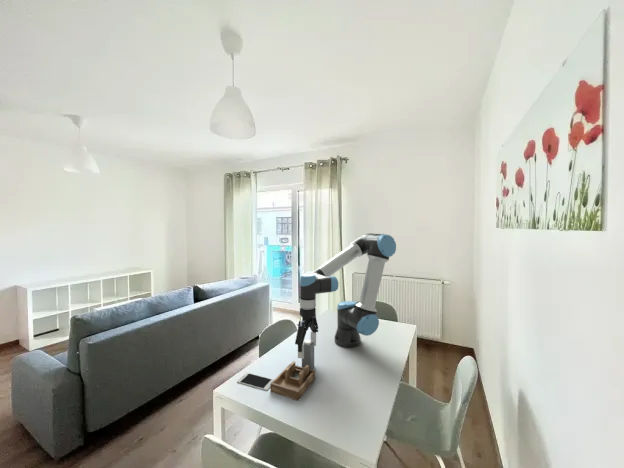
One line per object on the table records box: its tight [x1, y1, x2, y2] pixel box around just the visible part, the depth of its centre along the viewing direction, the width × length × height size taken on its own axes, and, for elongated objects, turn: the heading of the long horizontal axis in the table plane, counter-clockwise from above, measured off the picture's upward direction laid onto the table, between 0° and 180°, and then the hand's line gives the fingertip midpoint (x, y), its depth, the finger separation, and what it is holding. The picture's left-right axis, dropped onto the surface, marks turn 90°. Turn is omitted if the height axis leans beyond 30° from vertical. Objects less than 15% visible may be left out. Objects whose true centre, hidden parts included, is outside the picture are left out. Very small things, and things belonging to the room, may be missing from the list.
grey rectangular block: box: [301, 339, 315, 370], centre depth 123 cm, size 4×4×13 cm
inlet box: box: [270, 360, 316, 401], centre depth 110 cm, size 16×13×6 cm
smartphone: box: [236, 372, 274, 392], centre depth 112 cm, size 7×16×1 cm, turn 68°
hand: (307, 351), depth 122 cm, fingers open, 13 cm apart
